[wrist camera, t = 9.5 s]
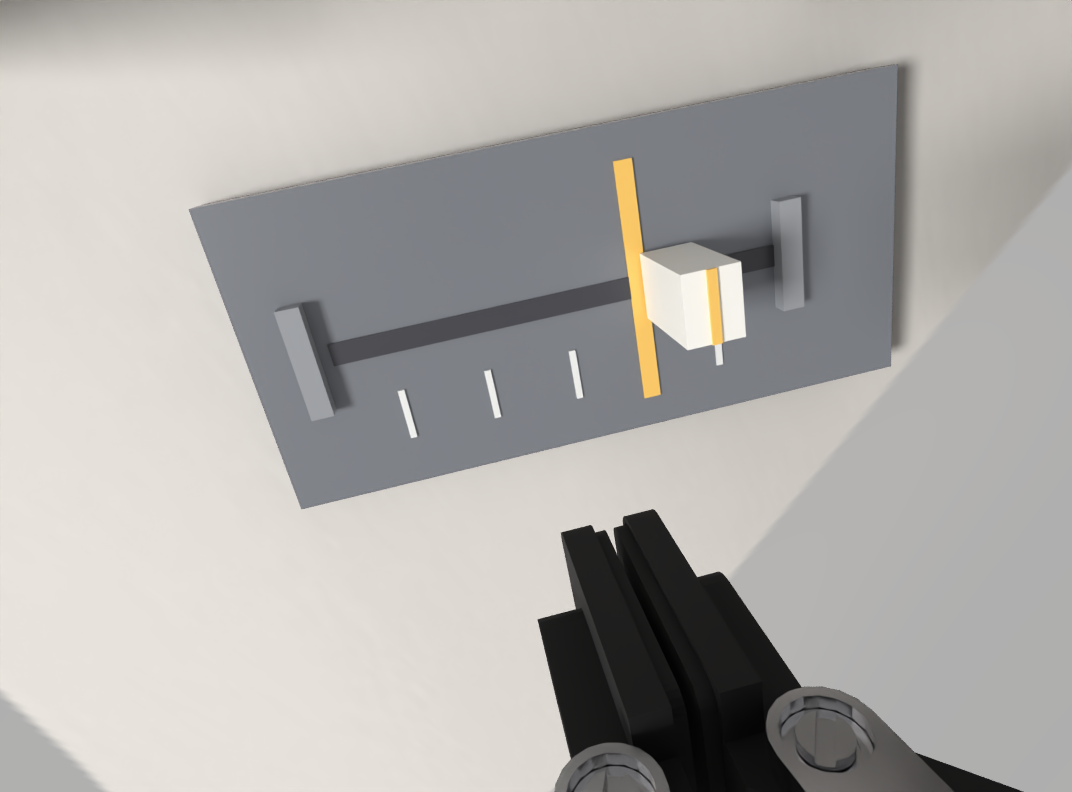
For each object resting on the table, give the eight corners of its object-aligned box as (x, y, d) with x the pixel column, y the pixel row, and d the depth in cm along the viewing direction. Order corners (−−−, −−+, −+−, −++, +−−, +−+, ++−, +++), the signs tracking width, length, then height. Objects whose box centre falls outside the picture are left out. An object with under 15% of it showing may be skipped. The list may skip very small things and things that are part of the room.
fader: (639, 253, 30) (681, 275, 25) (691, 241, 30) (742, 262, 25) (647, 318, 31) (688, 351, 26) (697, 306, 31) (747, 337, 26)
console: (203, 204, 28) (181, 211, 26) (868, 68, 31) (910, 62, 28) (307, 488, 34) (298, 518, 31) (866, 354, 36) (901, 371, 33)
